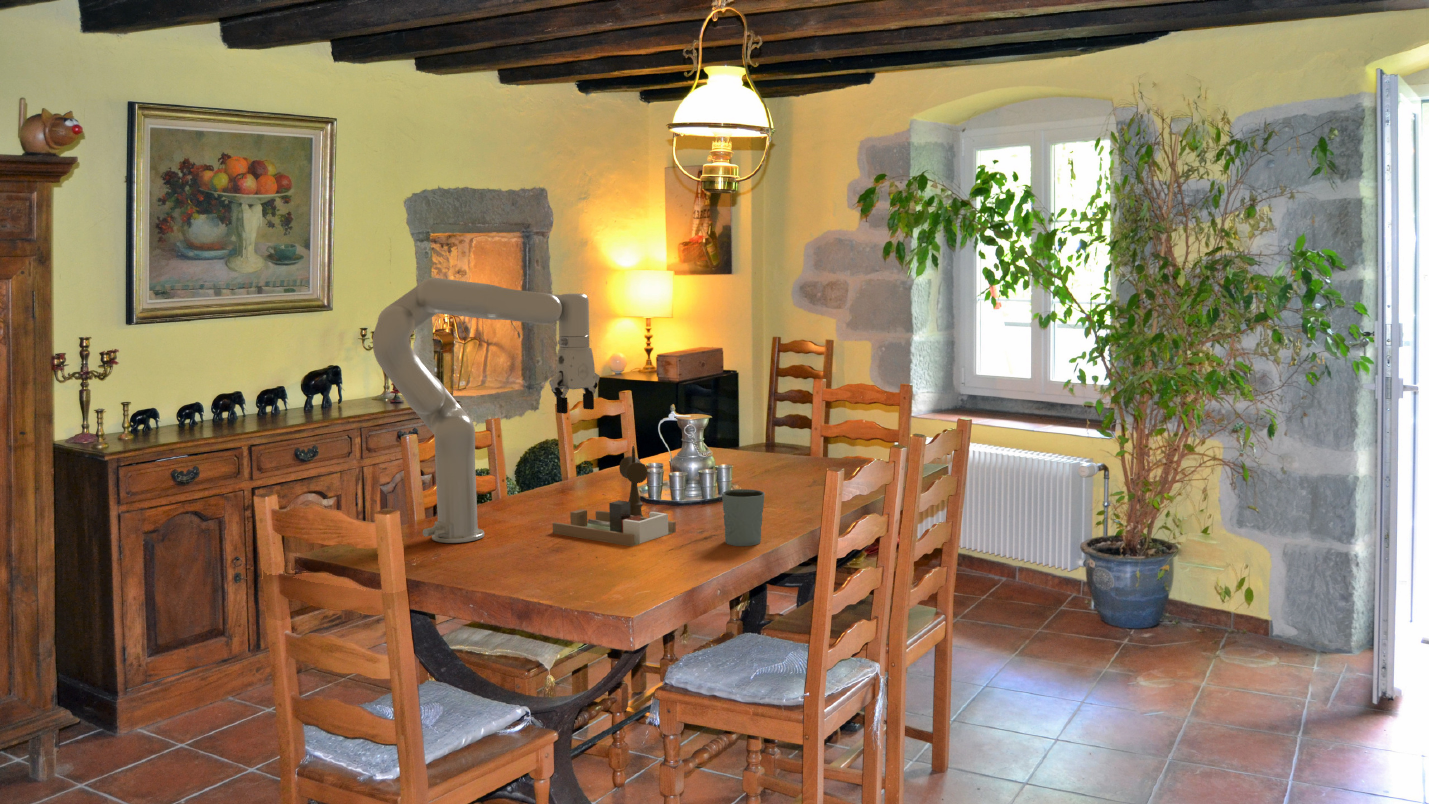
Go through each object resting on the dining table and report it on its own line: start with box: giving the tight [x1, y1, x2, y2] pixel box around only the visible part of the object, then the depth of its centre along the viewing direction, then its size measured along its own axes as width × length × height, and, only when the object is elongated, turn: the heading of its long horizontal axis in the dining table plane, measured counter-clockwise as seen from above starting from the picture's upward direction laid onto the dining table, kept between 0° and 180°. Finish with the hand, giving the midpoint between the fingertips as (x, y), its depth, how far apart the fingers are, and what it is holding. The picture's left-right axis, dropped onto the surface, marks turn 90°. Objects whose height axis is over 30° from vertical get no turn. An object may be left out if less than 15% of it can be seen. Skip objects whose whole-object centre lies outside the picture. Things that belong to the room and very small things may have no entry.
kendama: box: [618, 445, 649, 517], centre depth 297 cm, size 6×10×20 cm, turn 16°
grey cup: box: [721, 488, 765, 547], centre depth 274 cm, size 10×10×12 cm
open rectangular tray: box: [552, 508, 677, 547], centre depth 281 cm, size 17×25×6 cm
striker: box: [587, 499, 641, 533], centre depth 281 cm, size 6×14×7 cm, turn 55°
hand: (575, 411), depth 288 cm, fingers open, 9 cm apart
